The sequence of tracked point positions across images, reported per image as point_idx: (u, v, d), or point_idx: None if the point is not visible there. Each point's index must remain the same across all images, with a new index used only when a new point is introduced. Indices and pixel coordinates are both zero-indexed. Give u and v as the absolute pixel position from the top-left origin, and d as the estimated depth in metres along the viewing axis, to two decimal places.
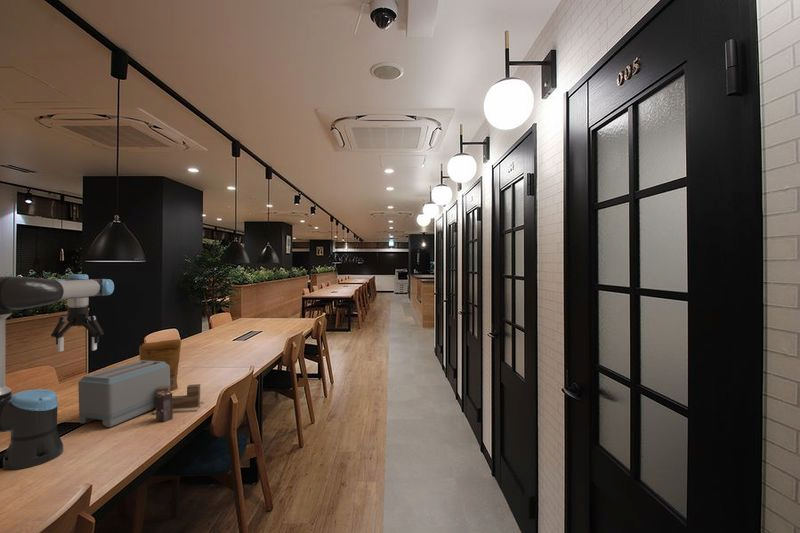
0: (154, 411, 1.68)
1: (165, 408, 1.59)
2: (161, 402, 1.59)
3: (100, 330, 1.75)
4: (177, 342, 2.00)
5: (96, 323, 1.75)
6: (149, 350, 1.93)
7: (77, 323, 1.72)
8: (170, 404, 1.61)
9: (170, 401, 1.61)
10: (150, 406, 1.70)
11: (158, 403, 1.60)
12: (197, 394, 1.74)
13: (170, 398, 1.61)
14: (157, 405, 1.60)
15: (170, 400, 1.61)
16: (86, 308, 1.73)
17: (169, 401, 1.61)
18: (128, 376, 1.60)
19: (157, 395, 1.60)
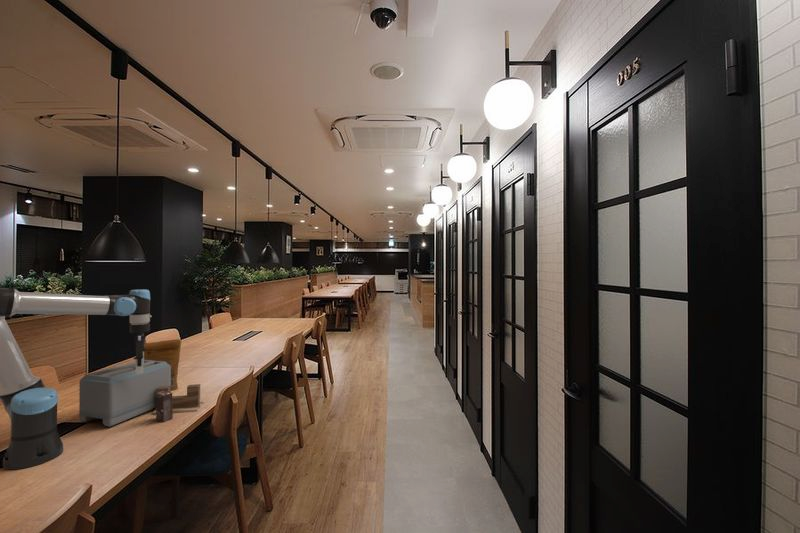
0: (154, 411, 1.68)
1: (165, 408, 1.59)
2: (161, 402, 1.59)
3: (138, 353, 1.57)
4: (177, 342, 2.00)
5: (138, 344, 1.59)
6: (149, 350, 1.93)
7: None
8: (170, 404, 1.61)
9: (170, 401, 1.61)
10: (150, 406, 1.70)
11: (158, 403, 1.60)
12: (197, 394, 1.74)
13: (170, 398, 1.61)
14: (157, 405, 1.60)
15: (170, 400, 1.61)
16: (138, 326, 1.62)
17: (169, 401, 1.61)
18: (129, 375, 1.60)
19: (157, 395, 1.60)
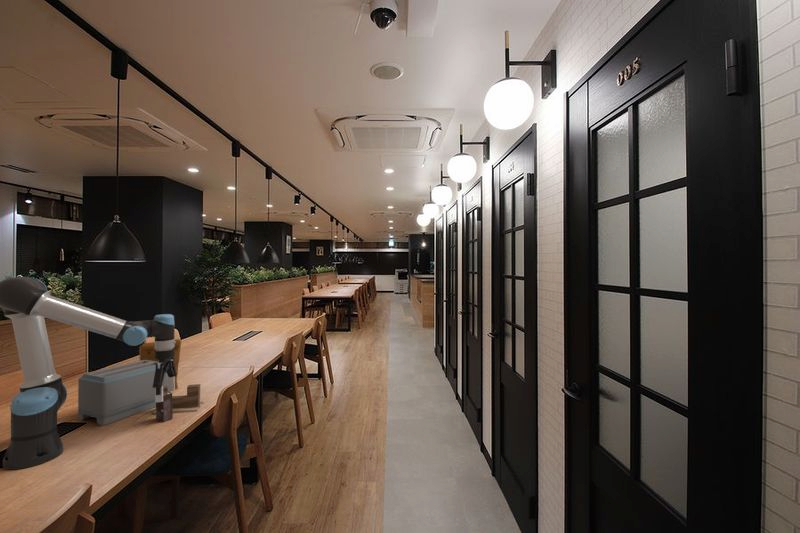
0: (154, 411, 1.68)
1: (165, 408, 1.59)
2: (161, 402, 1.59)
3: (155, 382, 1.53)
4: (177, 342, 2.00)
5: (157, 372, 1.54)
6: (149, 350, 1.93)
7: None
8: (170, 404, 1.61)
9: (170, 401, 1.61)
10: (147, 407, 1.71)
11: (158, 403, 1.60)
12: (197, 394, 1.74)
13: (170, 398, 1.61)
14: (157, 405, 1.60)
15: (170, 400, 1.61)
16: (160, 353, 1.58)
17: (169, 401, 1.61)
18: (124, 376, 1.63)
19: None
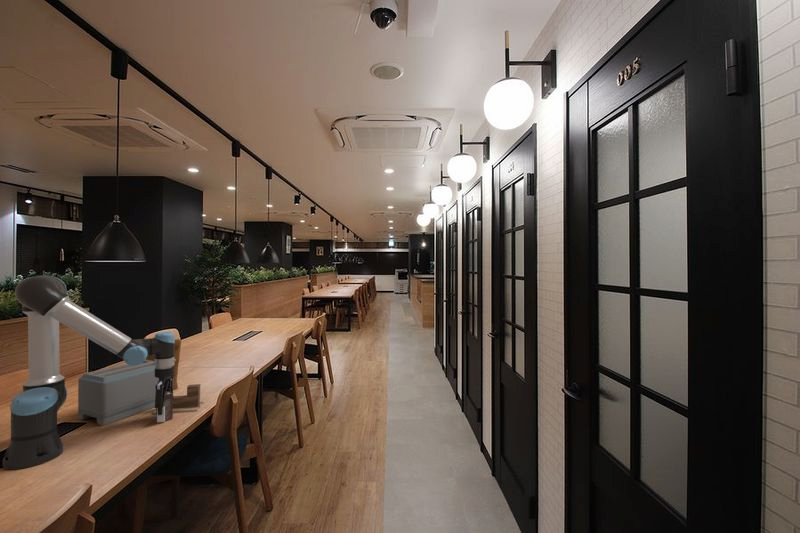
0: (154, 411, 1.68)
1: (166, 408, 1.59)
2: None
3: (157, 403, 1.55)
4: (177, 342, 2.00)
5: (158, 393, 1.55)
6: None
7: None
8: (170, 404, 1.61)
9: (170, 401, 1.61)
10: (147, 407, 1.71)
11: None
12: (197, 394, 1.74)
13: (170, 398, 1.61)
14: None
15: (170, 400, 1.61)
16: (160, 371, 1.58)
17: (169, 401, 1.61)
18: (124, 376, 1.63)
19: None
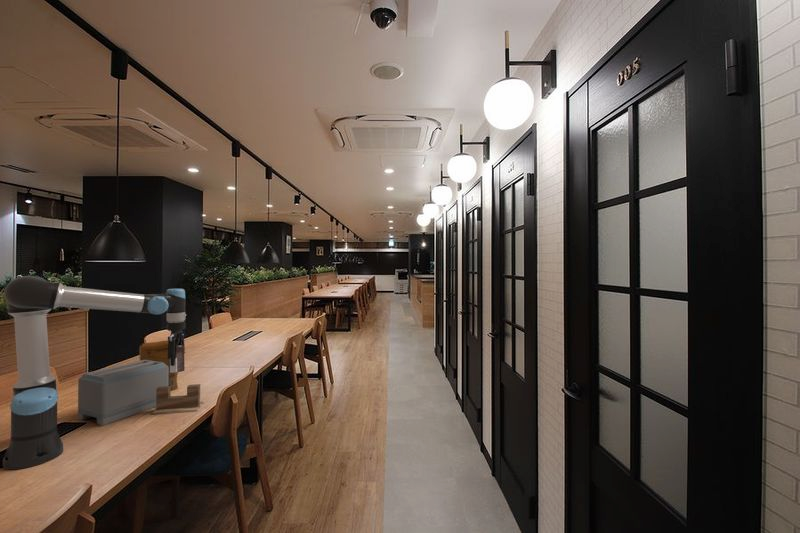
0: (154, 411, 1.68)
1: (178, 360, 1.68)
2: None
3: (170, 353, 1.64)
4: None
5: (170, 345, 1.64)
6: (149, 350, 1.93)
7: None
8: (182, 356, 1.70)
9: (182, 353, 1.70)
10: (146, 407, 1.71)
11: None
12: (197, 394, 1.74)
13: (182, 351, 1.70)
14: None
15: (182, 352, 1.70)
16: (172, 324, 1.67)
17: (181, 353, 1.70)
18: (124, 376, 1.63)
19: None
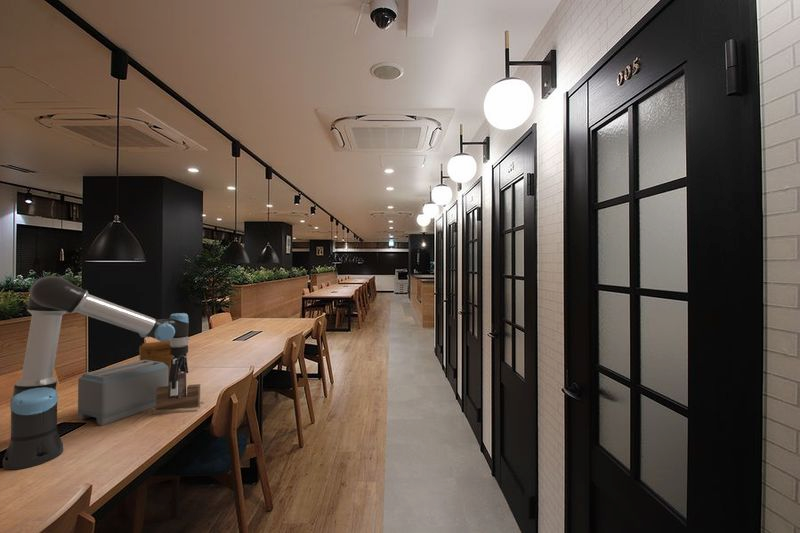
0: (154, 411, 1.68)
1: (180, 386, 1.71)
2: None
3: (171, 376, 1.65)
4: None
5: (172, 368, 1.67)
6: (149, 350, 1.93)
7: None
8: (184, 382, 1.73)
9: (184, 380, 1.73)
10: (146, 406, 1.72)
11: None
12: (197, 394, 1.74)
13: (184, 377, 1.73)
14: None
15: (184, 379, 1.73)
16: (175, 349, 1.70)
17: (183, 379, 1.73)
18: (124, 376, 1.63)
19: None
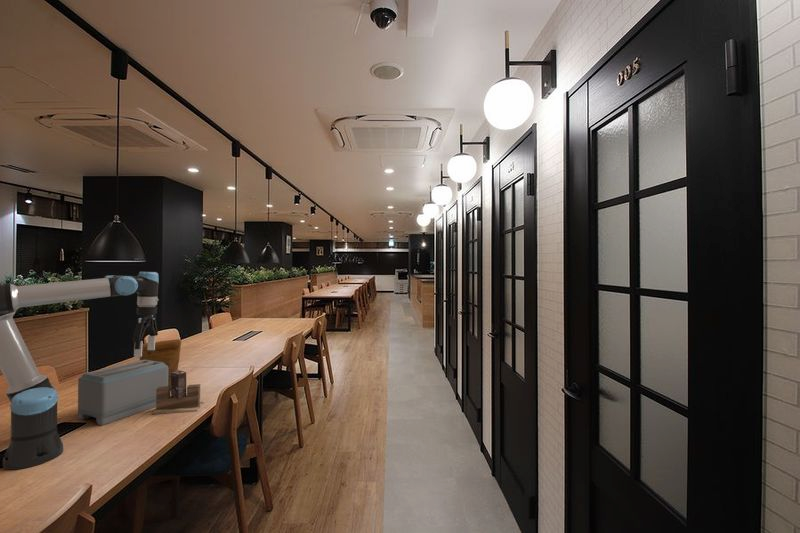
0: (154, 411, 1.68)
1: (180, 386, 1.71)
2: (176, 380, 1.71)
3: (135, 335, 1.53)
4: (177, 342, 2.00)
5: (138, 326, 1.55)
6: (149, 350, 1.93)
7: None
8: (184, 382, 1.73)
9: (184, 380, 1.73)
10: (146, 406, 1.72)
11: (173, 381, 1.72)
12: (197, 394, 1.74)
13: (184, 377, 1.73)
14: (172, 383, 1.72)
15: (184, 379, 1.73)
16: (142, 308, 1.59)
17: (183, 379, 1.73)
18: (124, 376, 1.63)
19: (172, 374, 1.72)
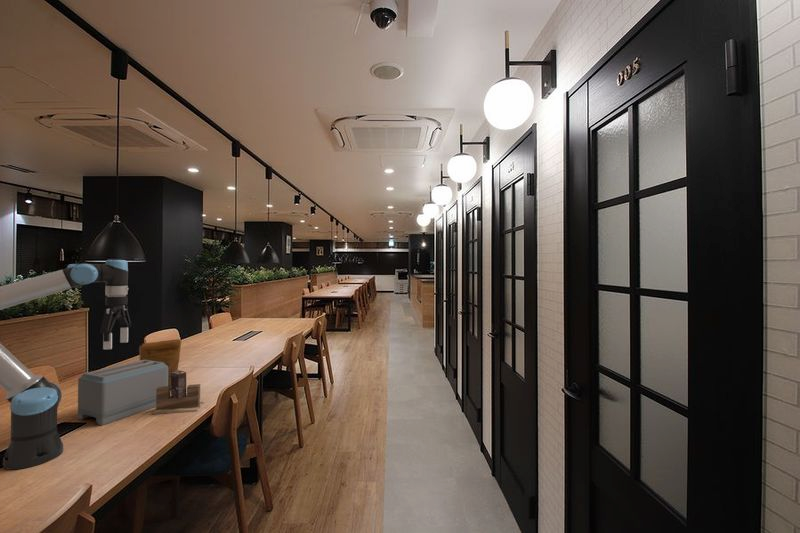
0: (154, 411, 1.68)
1: (180, 386, 1.71)
2: (176, 380, 1.71)
3: (103, 327, 1.44)
4: (177, 342, 2.00)
5: (106, 318, 1.46)
6: (149, 350, 1.93)
7: None
8: (184, 382, 1.73)
9: (184, 380, 1.73)
10: (146, 406, 1.72)
11: (173, 381, 1.72)
12: (197, 394, 1.74)
13: (184, 377, 1.73)
14: (172, 383, 1.72)
15: (184, 379, 1.73)
16: (110, 298, 1.50)
17: (183, 379, 1.73)
18: (123, 376, 1.63)
19: (172, 374, 1.72)
